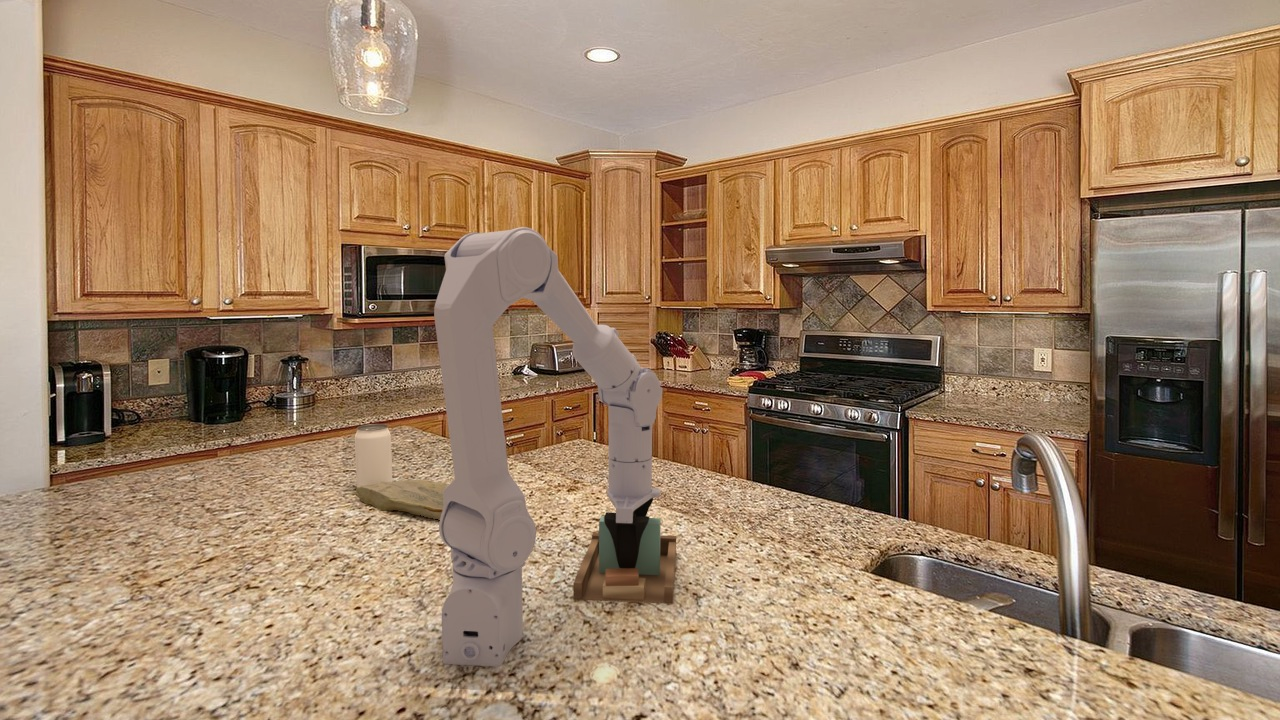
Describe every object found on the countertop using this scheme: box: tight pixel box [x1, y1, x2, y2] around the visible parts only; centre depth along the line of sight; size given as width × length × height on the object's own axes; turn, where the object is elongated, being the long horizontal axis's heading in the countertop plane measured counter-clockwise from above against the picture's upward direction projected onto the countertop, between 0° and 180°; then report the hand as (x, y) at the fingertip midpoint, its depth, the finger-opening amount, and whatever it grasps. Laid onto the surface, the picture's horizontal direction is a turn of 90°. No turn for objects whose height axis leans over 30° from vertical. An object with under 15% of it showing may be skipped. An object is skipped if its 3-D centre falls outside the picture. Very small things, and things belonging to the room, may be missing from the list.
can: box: [354, 423, 393, 488], centre depth 123 cm, size 6×6×12 cm
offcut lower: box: [603, 577, 645, 600], centre depth 78 cm, size 2×5×2 cm, turn 85°
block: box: [598, 515, 661, 575], centre depth 84 cm, size 2×8×7 cm, turn 85°
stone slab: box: [355, 479, 450, 521], centre depth 112 cm, size 12×4×30 cm
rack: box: [572, 532, 677, 605], centre depth 83 cm, size 15×12×3 cm
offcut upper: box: [606, 568, 639, 586], centre depth 77 cm, size 2×4×1 cm, turn 93°
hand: (629, 557), depth 84 cm, fingers open, 6 cm apart
